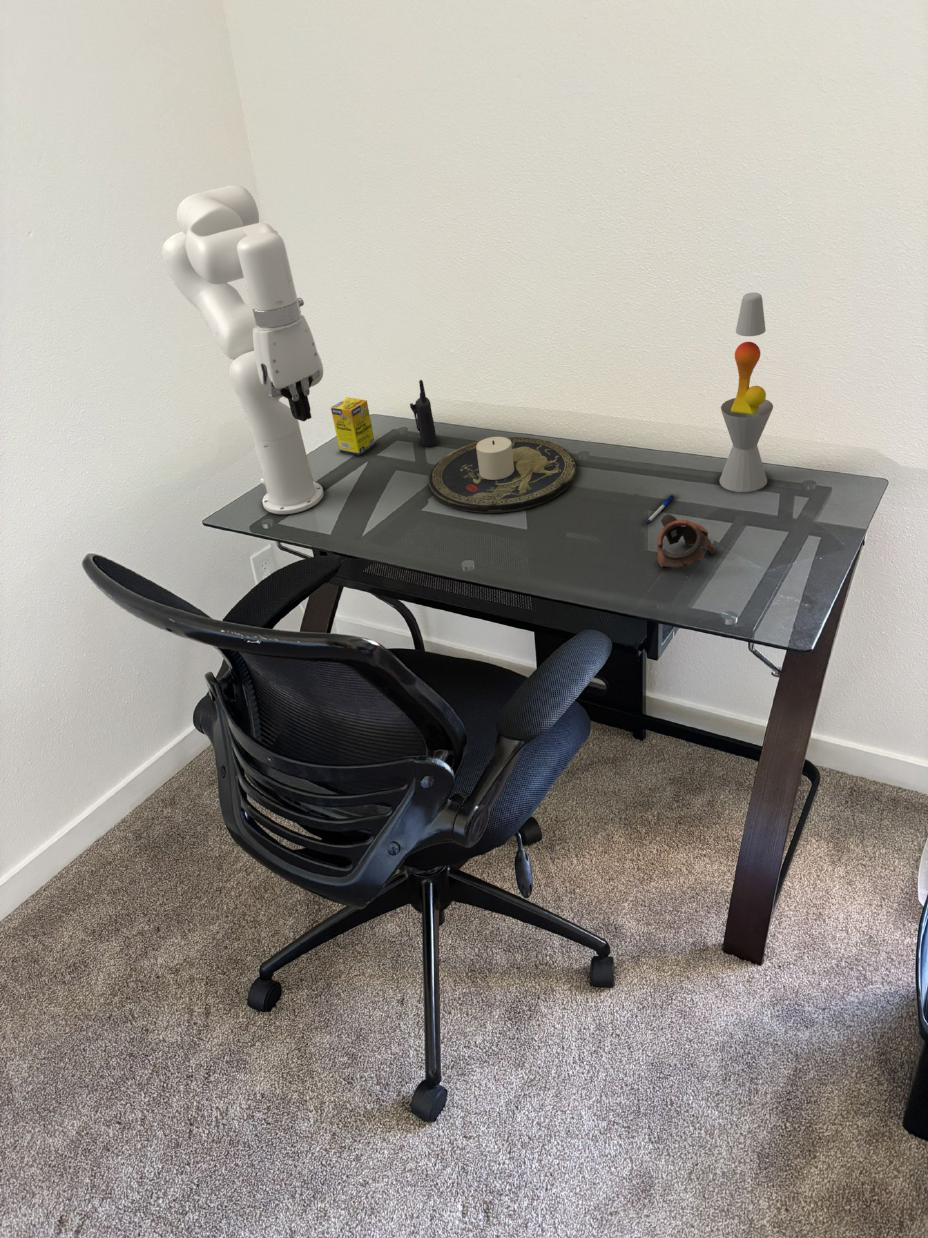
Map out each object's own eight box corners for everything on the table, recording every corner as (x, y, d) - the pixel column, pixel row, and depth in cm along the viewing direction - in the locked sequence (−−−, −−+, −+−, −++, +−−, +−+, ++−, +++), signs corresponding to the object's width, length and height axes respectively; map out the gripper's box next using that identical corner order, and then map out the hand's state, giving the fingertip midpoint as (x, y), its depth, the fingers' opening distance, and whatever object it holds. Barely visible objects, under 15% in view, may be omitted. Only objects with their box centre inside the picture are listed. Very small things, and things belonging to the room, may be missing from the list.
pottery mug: (729, 561, 157) (718, 537, 151) (682, 595, 158) (670, 573, 152) (688, 517, 164) (676, 492, 158) (644, 550, 166) (630, 526, 159)
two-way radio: (438, 446, 207) (428, 381, 198) (418, 450, 206) (407, 385, 198) (434, 436, 211) (424, 372, 202) (415, 440, 211) (404, 376, 202)
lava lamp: (711, 487, 177) (716, 301, 157) (728, 466, 183) (735, 284, 162) (758, 495, 172) (770, 305, 152) (775, 473, 178) (788, 287, 158)
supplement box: (360, 456, 207) (350, 410, 201) (339, 452, 210) (329, 407, 204) (376, 445, 211) (367, 399, 205) (356, 441, 214) (346, 396, 208)
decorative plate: (457, 521, 175) (408, 459, 199) (458, 530, 176) (410, 467, 200) (602, 479, 182) (538, 423, 205) (602, 488, 183) (539, 431, 206)
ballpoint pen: (669, 497, 176) (669, 492, 176) (674, 498, 176) (674, 493, 175) (645, 524, 170) (645, 519, 169) (650, 525, 169) (650, 520, 169)
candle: (472, 474, 190) (468, 443, 186) (496, 460, 193) (492, 429, 189) (497, 483, 185) (493, 451, 181) (521, 468, 189) (518, 437, 185)
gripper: (299, 297, 160) (322, 398, 171) (227, 326, 152) (256, 430, 163) (326, 302, 156) (348, 406, 166) (253, 332, 148) (281, 439, 159)
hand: (302, 418), depth 165 cm, fingers closed
